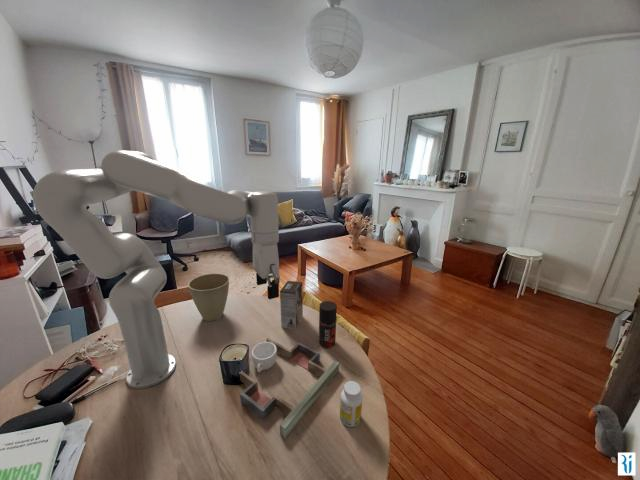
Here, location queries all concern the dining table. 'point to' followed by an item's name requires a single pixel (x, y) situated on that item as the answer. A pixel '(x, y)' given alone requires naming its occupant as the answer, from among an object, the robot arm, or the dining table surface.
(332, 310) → the deodorant
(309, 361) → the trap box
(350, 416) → the supplement bottle
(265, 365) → the teacup
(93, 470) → the dining table surface
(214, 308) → the plant pot
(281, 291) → the coffee box
